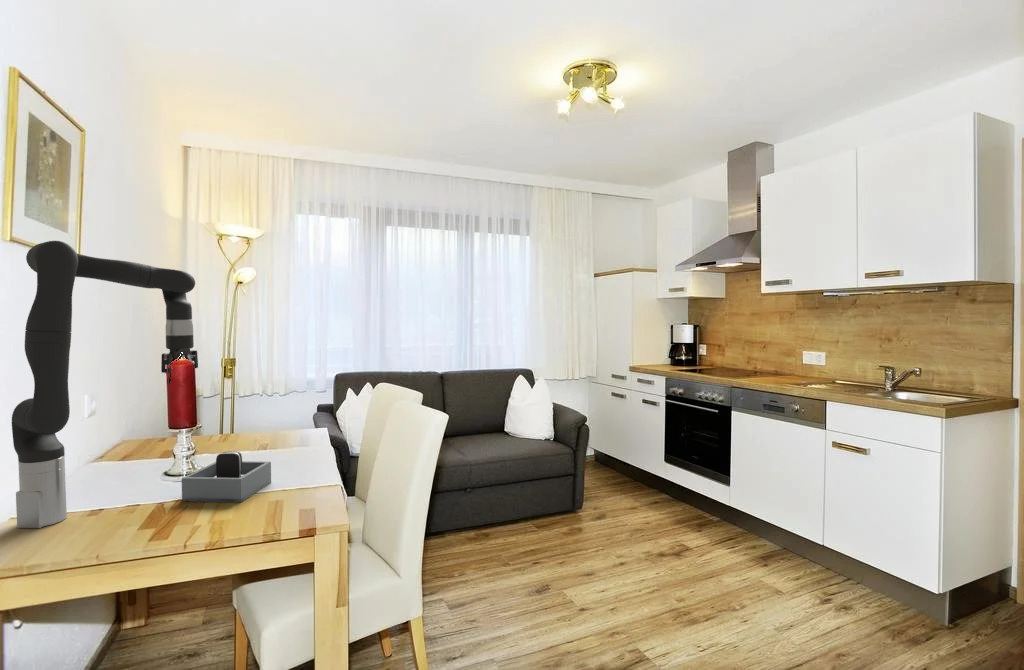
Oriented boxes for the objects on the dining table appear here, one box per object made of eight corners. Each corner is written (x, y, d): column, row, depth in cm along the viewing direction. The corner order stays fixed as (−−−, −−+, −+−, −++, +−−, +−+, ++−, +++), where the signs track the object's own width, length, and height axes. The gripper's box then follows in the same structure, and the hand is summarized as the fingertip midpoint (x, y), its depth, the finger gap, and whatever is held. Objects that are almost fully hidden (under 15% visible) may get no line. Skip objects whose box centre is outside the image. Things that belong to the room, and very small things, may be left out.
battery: (244, 485, 167) (243, 450, 167) (239, 489, 163) (238, 453, 163) (220, 486, 166) (220, 450, 166) (215, 490, 163) (215, 453, 162)
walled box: (241, 502, 155) (241, 479, 155) (182, 501, 156) (181, 478, 155) (271, 482, 173) (270, 461, 173) (217, 481, 174) (217, 460, 173)
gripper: (176, 335, 160) (177, 387, 161) (204, 333, 175) (205, 381, 175) (152, 334, 161) (153, 387, 161) (182, 332, 175) (184, 381, 176)
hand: (180, 384), depth 168 cm, fingers open, 8 cm apart
